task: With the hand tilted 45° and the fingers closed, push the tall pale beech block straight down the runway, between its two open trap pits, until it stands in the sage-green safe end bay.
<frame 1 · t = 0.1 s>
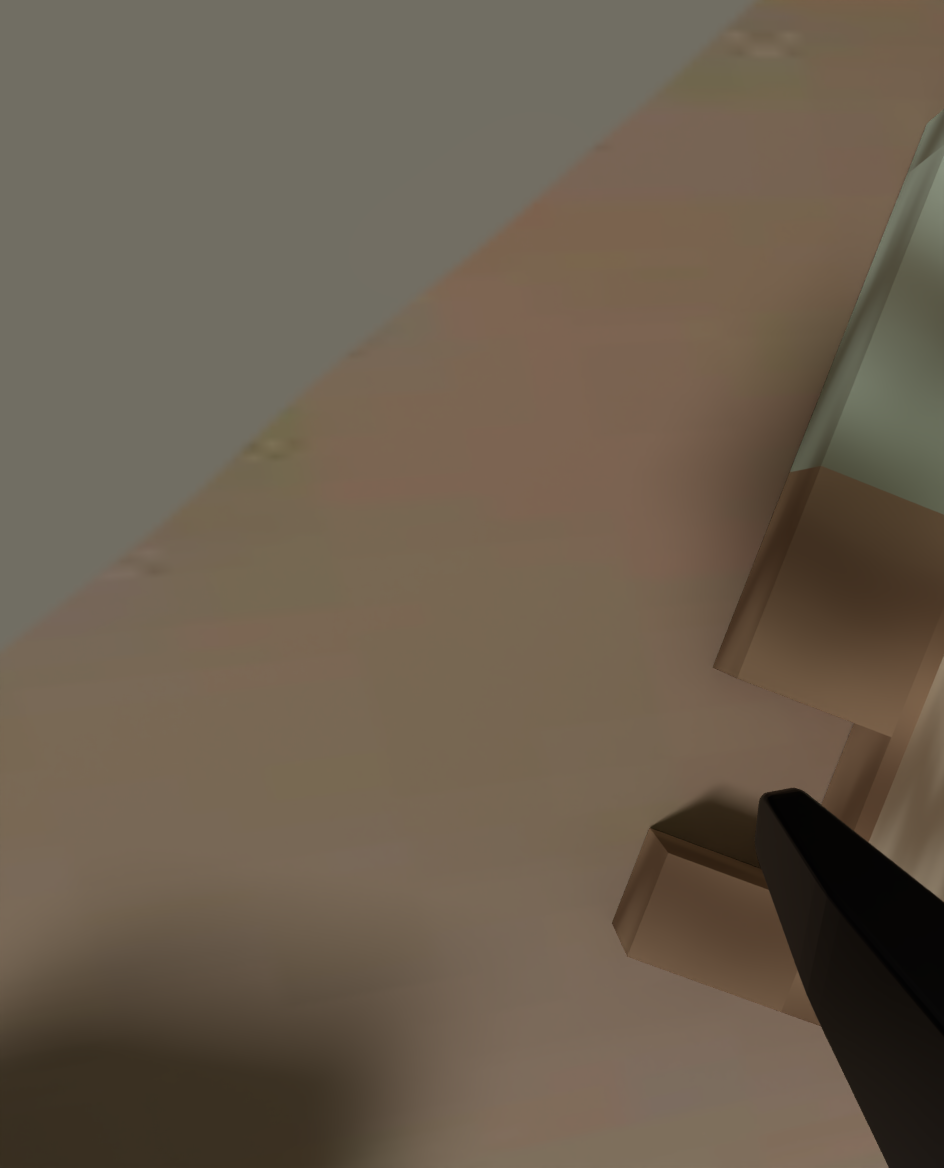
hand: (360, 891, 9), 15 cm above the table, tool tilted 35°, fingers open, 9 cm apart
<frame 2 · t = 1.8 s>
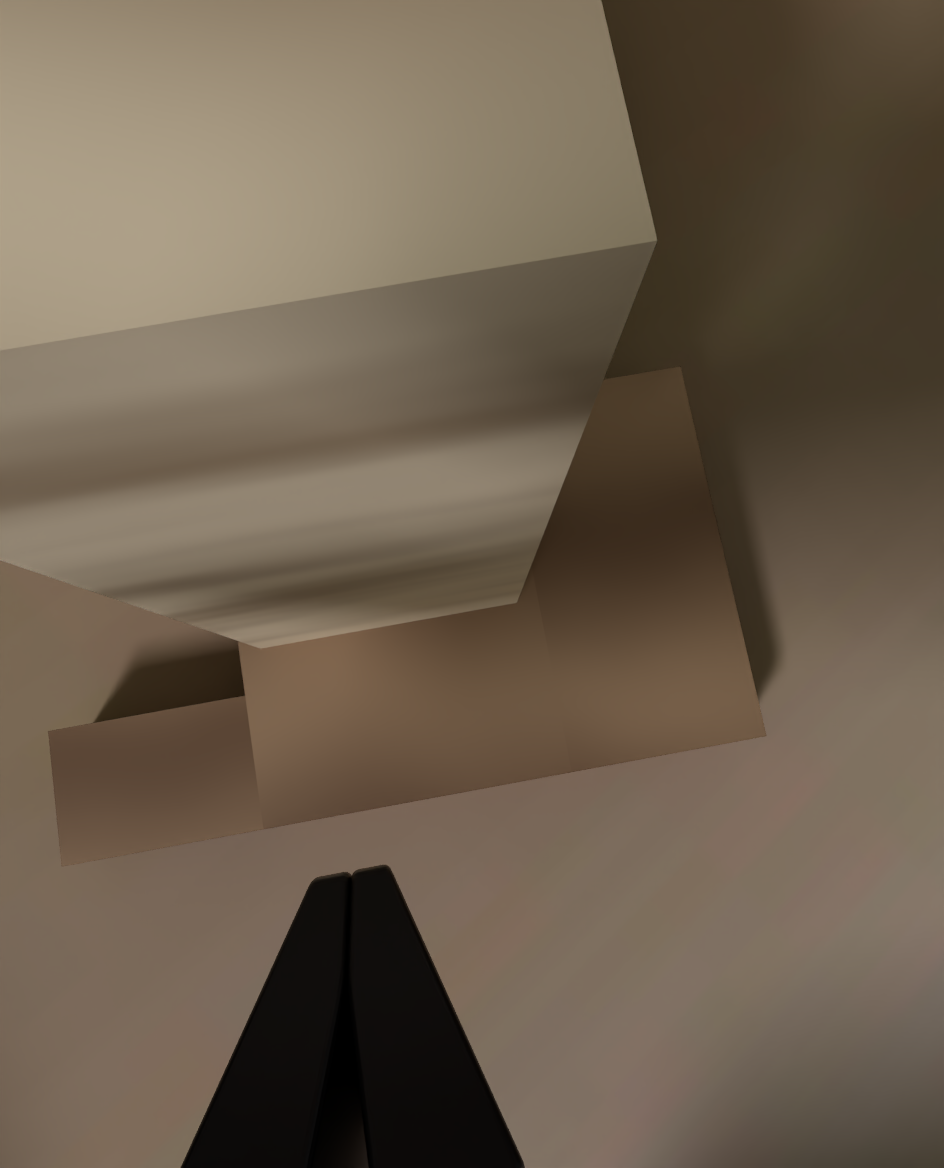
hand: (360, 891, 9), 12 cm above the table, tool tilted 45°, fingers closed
trap runway: (354, 377, 23), on the table
beech block: (362, 461, 20), point 2 cm above the table, touching trap runway
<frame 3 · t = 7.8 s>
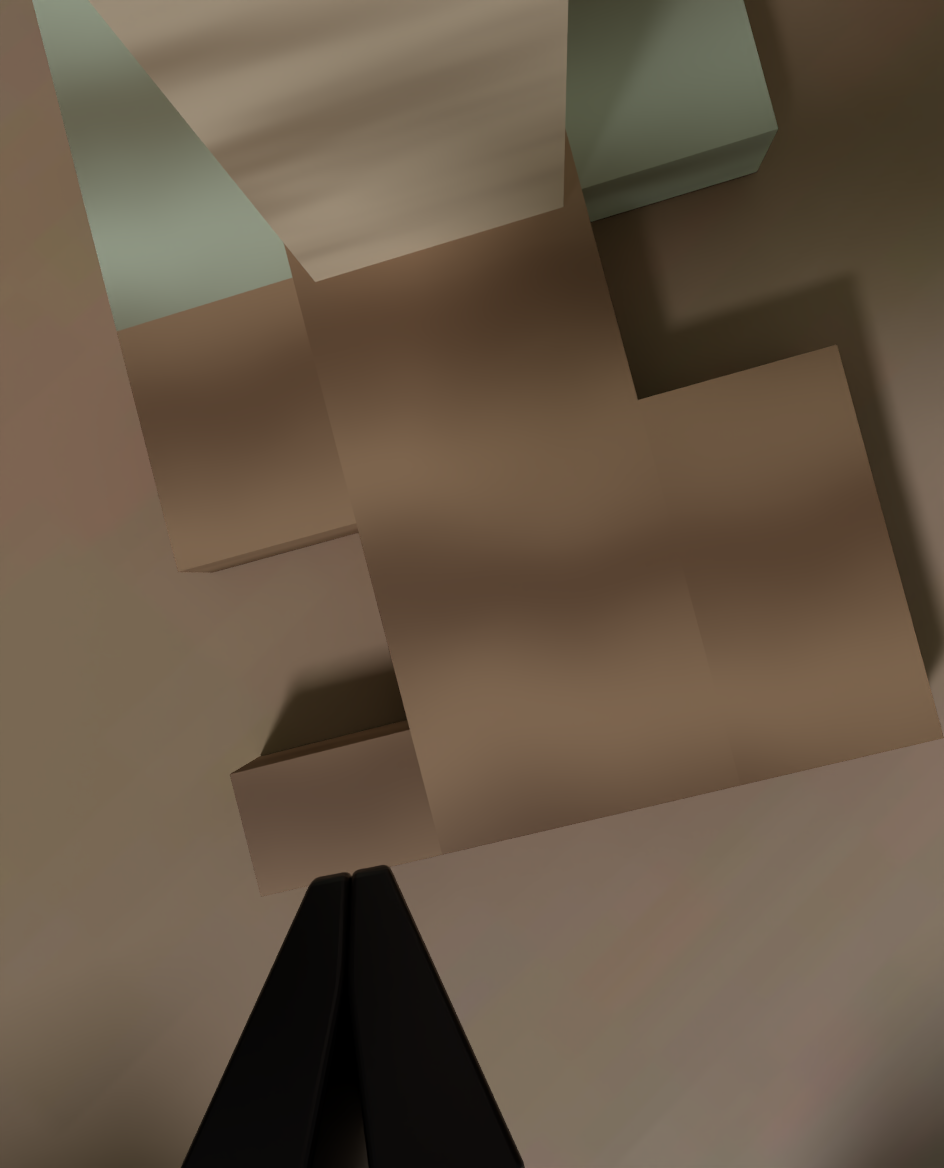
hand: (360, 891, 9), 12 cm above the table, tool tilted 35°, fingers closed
trap runway: (475, 378, 22), on the table
beech block: (394, 80, 20), point 2 cm above the table, touching trap runway
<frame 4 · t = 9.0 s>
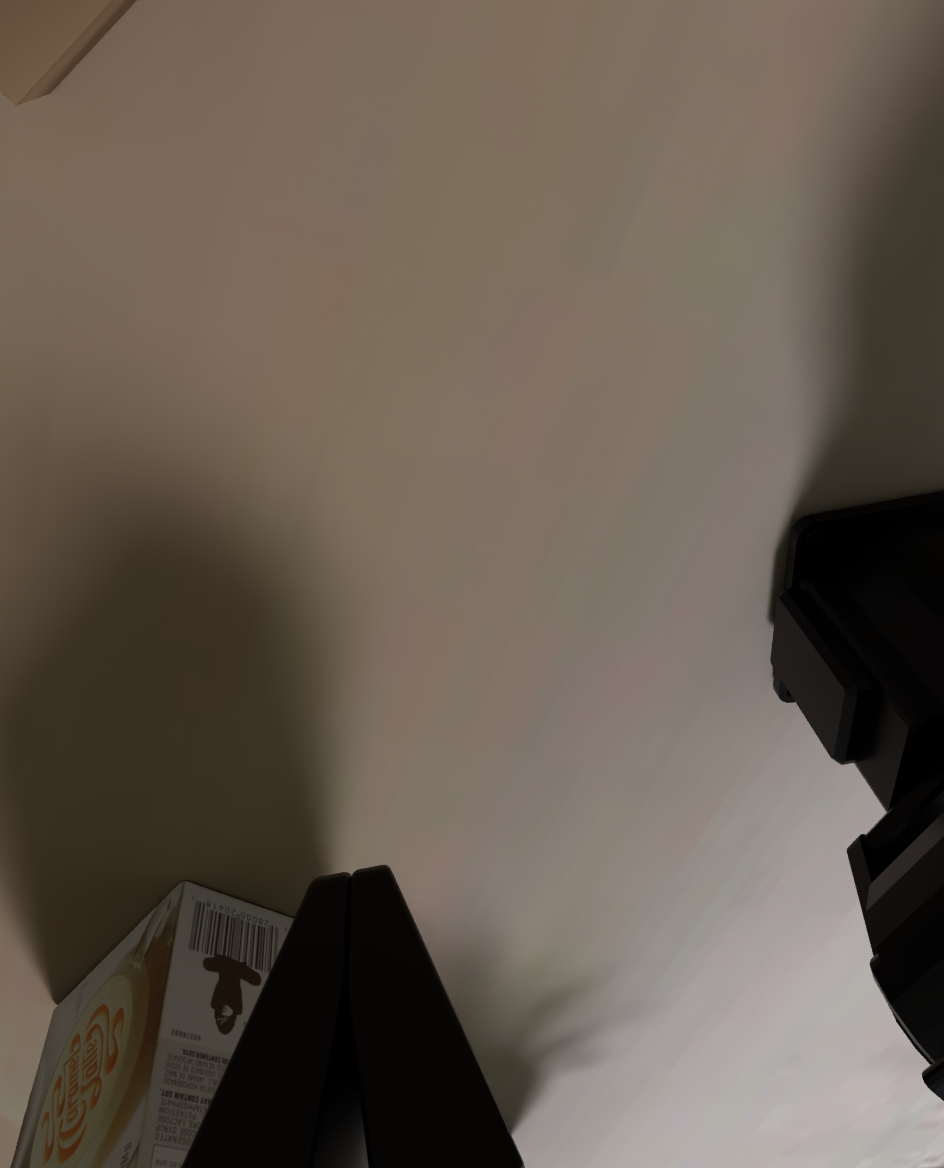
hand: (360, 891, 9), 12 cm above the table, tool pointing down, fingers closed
coffee box: (195, 962, 31), on the table
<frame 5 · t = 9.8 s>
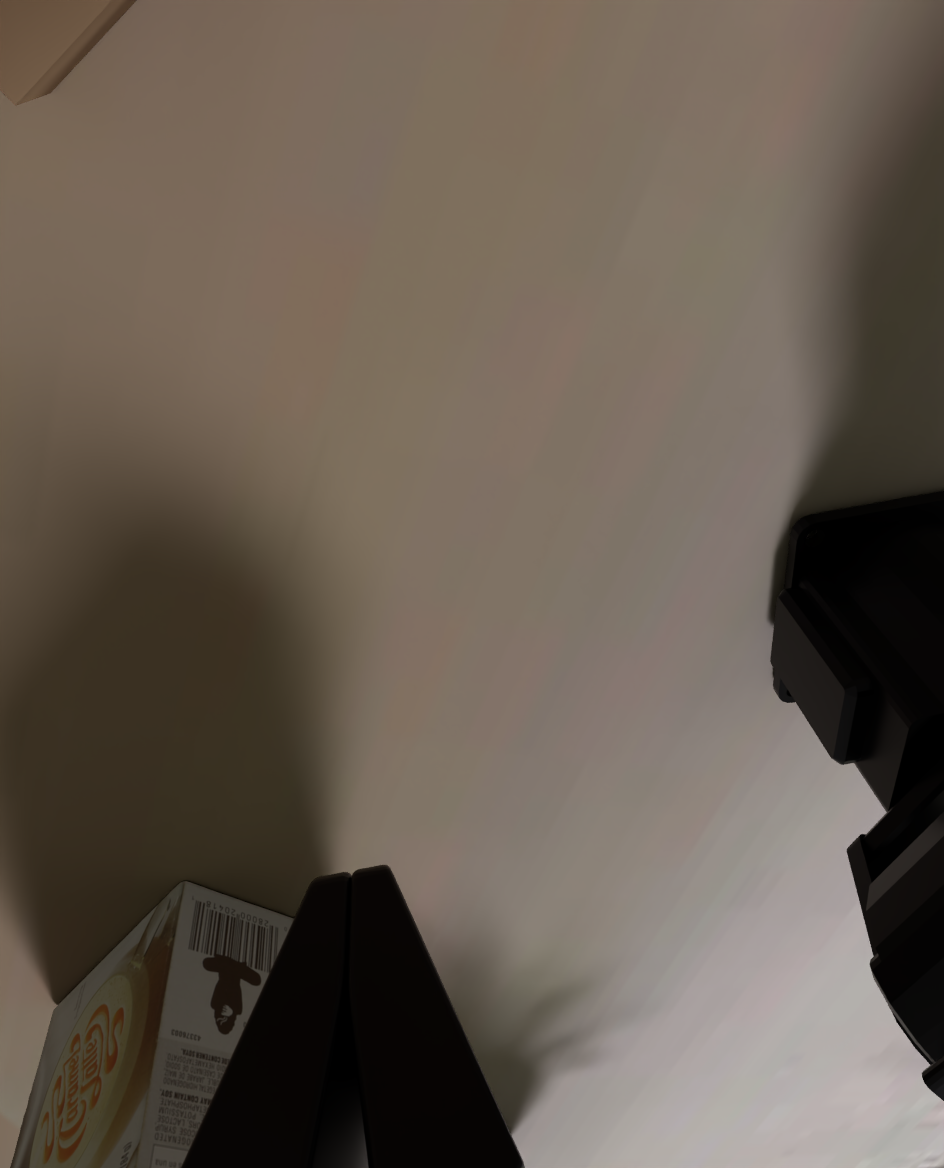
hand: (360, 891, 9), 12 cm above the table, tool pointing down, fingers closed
coffee box: (195, 962, 31), on the table
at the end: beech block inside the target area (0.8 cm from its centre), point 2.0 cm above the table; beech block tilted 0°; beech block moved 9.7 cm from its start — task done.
